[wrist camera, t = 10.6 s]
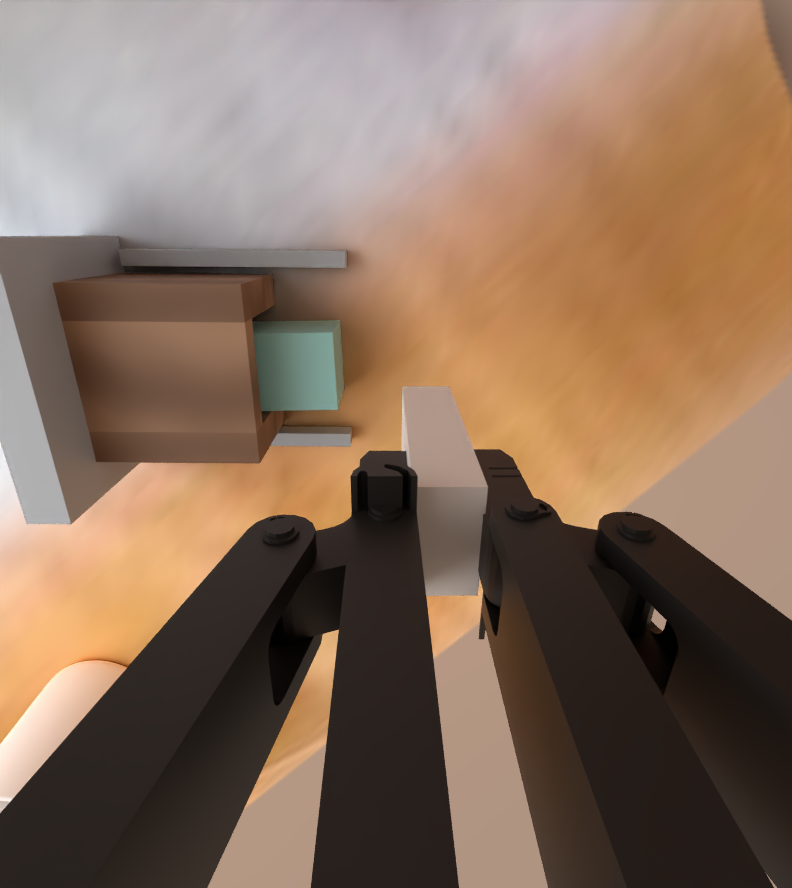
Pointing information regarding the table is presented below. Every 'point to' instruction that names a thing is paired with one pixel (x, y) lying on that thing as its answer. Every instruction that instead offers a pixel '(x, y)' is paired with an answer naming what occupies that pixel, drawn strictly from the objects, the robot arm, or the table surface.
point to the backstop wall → (52, 375)
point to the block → (169, 365)
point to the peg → (299, 364)
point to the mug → (51, 721)
